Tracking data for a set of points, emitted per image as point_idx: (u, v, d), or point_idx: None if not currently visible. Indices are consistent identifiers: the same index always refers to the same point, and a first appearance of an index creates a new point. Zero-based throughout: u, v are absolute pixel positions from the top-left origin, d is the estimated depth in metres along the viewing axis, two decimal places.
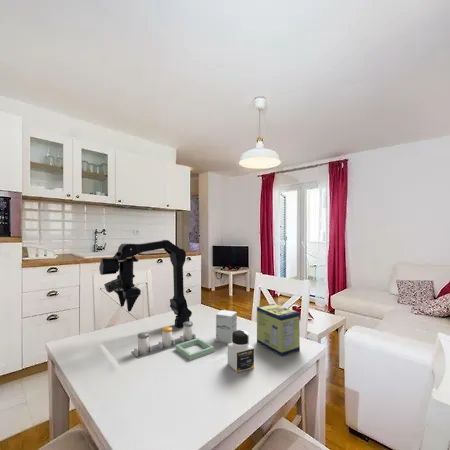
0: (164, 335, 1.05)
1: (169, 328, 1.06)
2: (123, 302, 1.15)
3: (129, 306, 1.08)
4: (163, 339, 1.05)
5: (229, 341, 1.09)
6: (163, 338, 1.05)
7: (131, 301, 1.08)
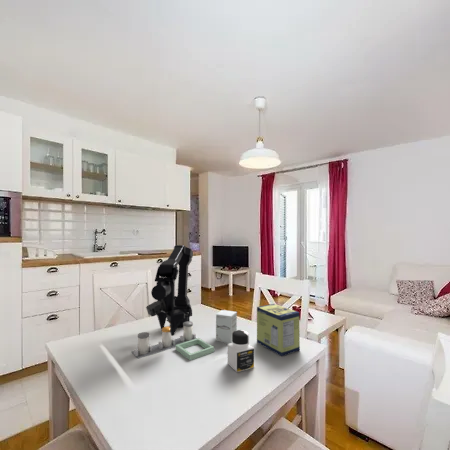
0: (164, 335, 1.05)
1: (169, 328, 1.06)
2: (163, 324, 1.10)
3: (173, 330, 1.03)
4: (163, 339, 1.05)
5: (229, 341, 1.09)
6: (163, 338, 1.05)
7: (174, 325, 1.03)
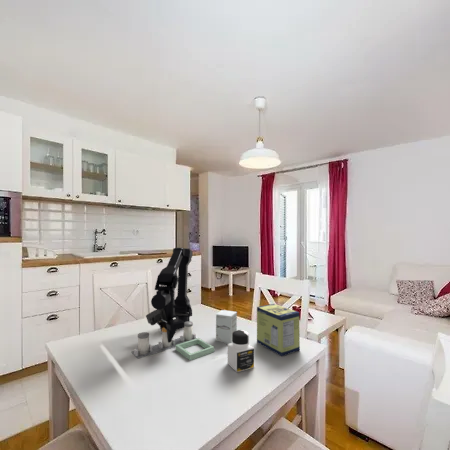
0: (164, 335, 1.05)
1: None
2: None
3: (169, 337, 1.04)
4: (163, 339, 1.05)
5: (229, 341, 1.09)
6: (163, 338, 1.05)
7: (171, 332, 1.04)
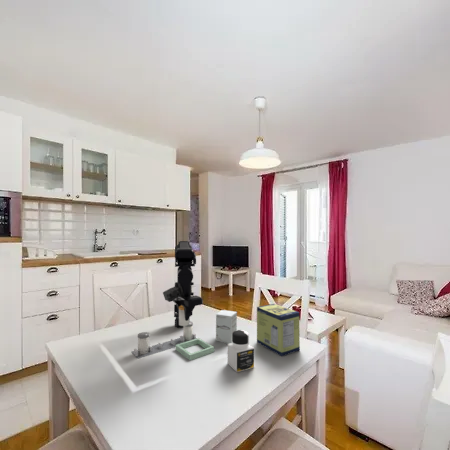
0: (181, 313, 1.02)
1: None
2: None
3: (187, 315, 1.01)
4: (180, 317, 1.02)
5: (229, 341, 1.09)
6: (180, 316, 1.02)
7: (189, 310, 1.01)
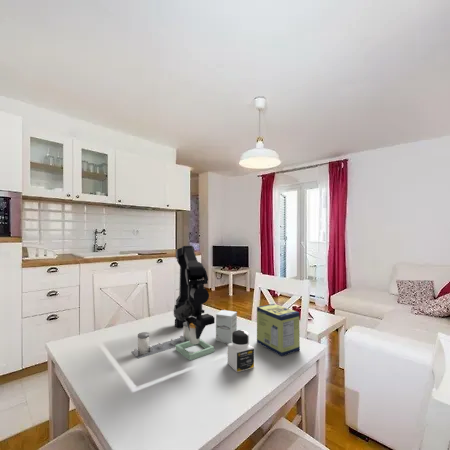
0: (192, 331, 1.00)
1: None
2: None
3: (198, 333, 1.00)
4: (191, 335, 1.01)
5: (229, 341, 1.09)
6: (191, 334, 1.01)
7: (200, 328, 1.00)
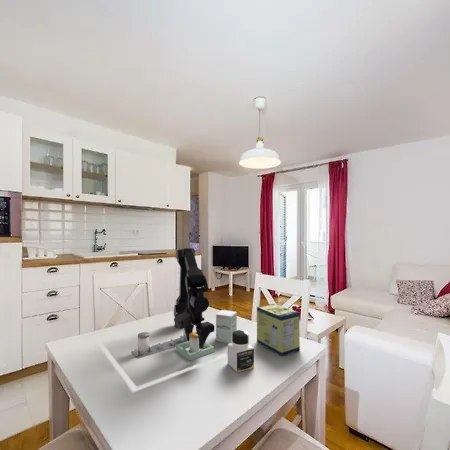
0: (192, 341, 1.00)
1: None
2: None
3: (201, 343, 0.98)
4: (191, 345, 1.00)
5: (229, 341, 1.09)
6: (191, 344, 1.00)
7: (203, 337, 0.98)
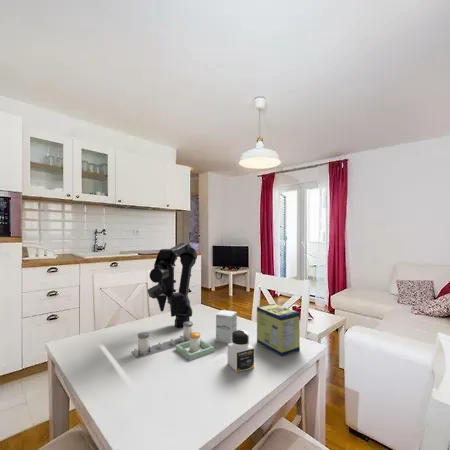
0: (192, 341, 1.00)
1: (197, 334, 1.02)
2: (163, 307, 1.16)
3: (173, 311, 1.09)
4: (191, 345, 1.00)
5: (229, 341, 1.09)
6: (191, 344, 1.00)
7: (174, 306, 1.09)
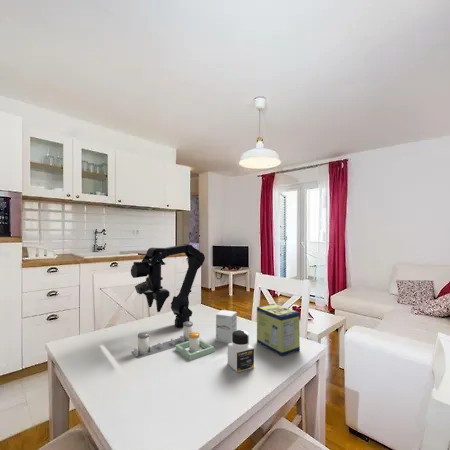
0: (192, 341, 1.00)
1: (196, 334, 1.02)
2: (151, 303, 1.22)
3: (159, 307, 1.14)
4: (191, 345, 1.00)
5: (229, 341, 1.09)
6: (191, 344, 1.00)
7: (160, 302, 1.14)
